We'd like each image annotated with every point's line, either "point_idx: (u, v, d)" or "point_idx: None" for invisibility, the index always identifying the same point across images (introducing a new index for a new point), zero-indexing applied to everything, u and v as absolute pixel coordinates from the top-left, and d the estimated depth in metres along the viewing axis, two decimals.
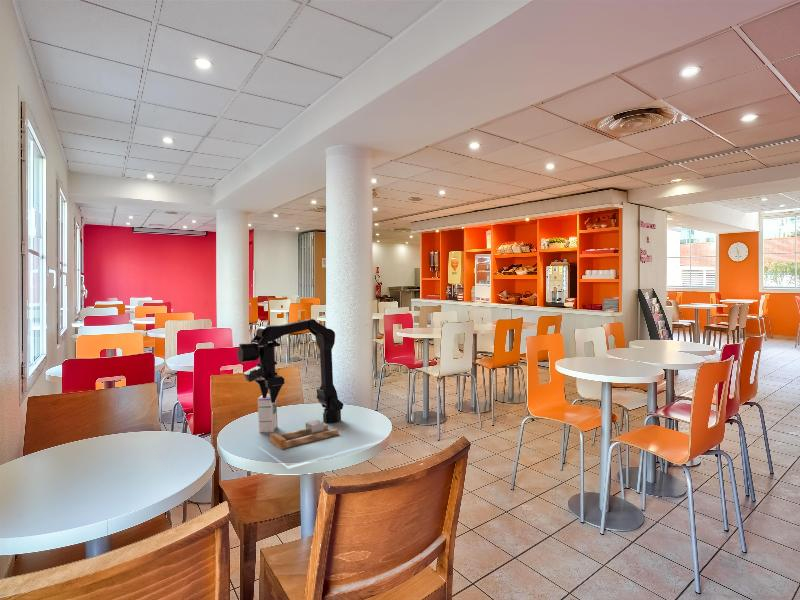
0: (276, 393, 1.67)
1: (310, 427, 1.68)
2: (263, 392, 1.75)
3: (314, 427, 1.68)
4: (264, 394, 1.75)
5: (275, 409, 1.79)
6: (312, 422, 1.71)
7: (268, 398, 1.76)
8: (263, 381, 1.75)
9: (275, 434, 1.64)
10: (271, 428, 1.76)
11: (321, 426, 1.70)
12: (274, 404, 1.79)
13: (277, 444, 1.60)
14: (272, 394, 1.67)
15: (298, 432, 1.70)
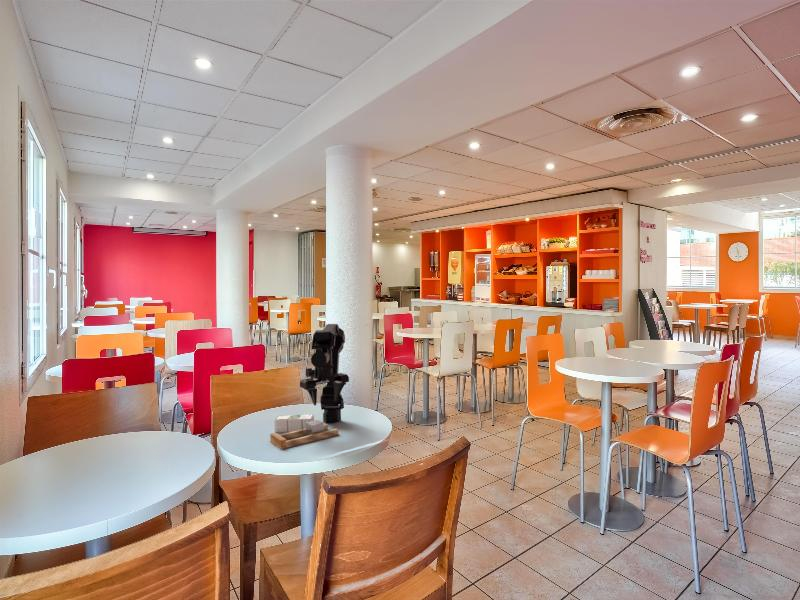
0: (313, 397, 1.70)
1: (310, 427, 1.68)
2: (334, 395, 1.78)
3: (314, 427, 1.68)
4: (335, 397, 1.78)
5: None
6: (312, 422, 1.71)
7: None
8: (336, 384, 1.78)
9: (275, 434, 1.64)
10: None
11: (321, 426, 1.70)
12: None
13: (277, 444, 1.60)
14: (311, 396, 1.71)
15: (298, 432, 1.70)
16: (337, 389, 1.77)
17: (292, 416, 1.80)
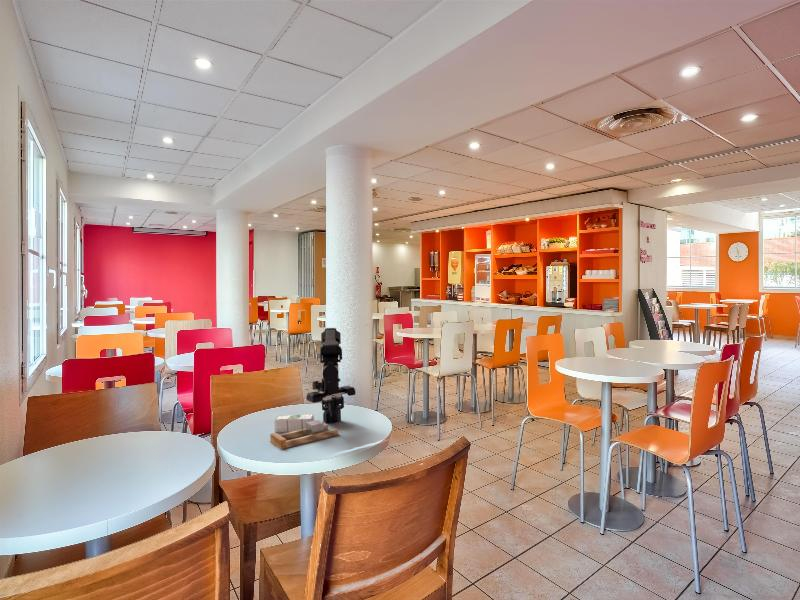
0: (329, 408, 1.74)
1: (310, 427, 1.68)
2: None
3: (314, 427, 1.68)
4: None
5: None
6: (312, 422, 1.71)
7: None
8: (333, 399, 1.76)
9: (275, 434, 1.64)
10: None
11: (321, 426, 1.70)
12: None
13: (277, 444, 1.60)
14: (328, 407, 1.75)
15: (298, 432, 1.70)
16: (334, 404, 1.75)
17: (292, 416, 1.80)
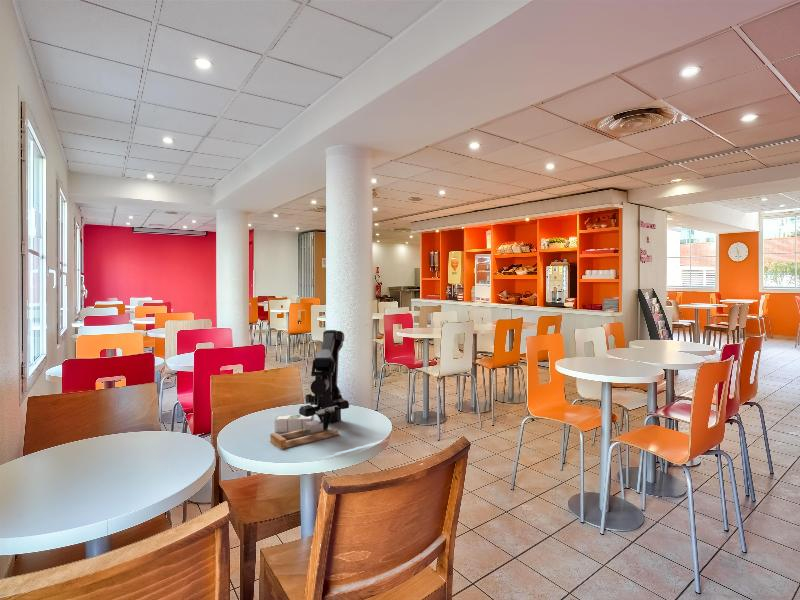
0: (323, 422, 1.72)
1: (309, 427, 1.68)
2: None
3: (313, 427, 1.68)
4: None
5: None
6: (311, 422, 1.71)
7: None
8: (326, 412, 1.74)
9: (275, 434, 1.64)
10: None
11: (320, 426, 1.70)
12: None
13: (277, 444, 1.60)
14: (321, 421, 1.73)
15: (298, 432, 1.70)
16: (327, 418, 1.73)
17: (292, 416, 1.80)
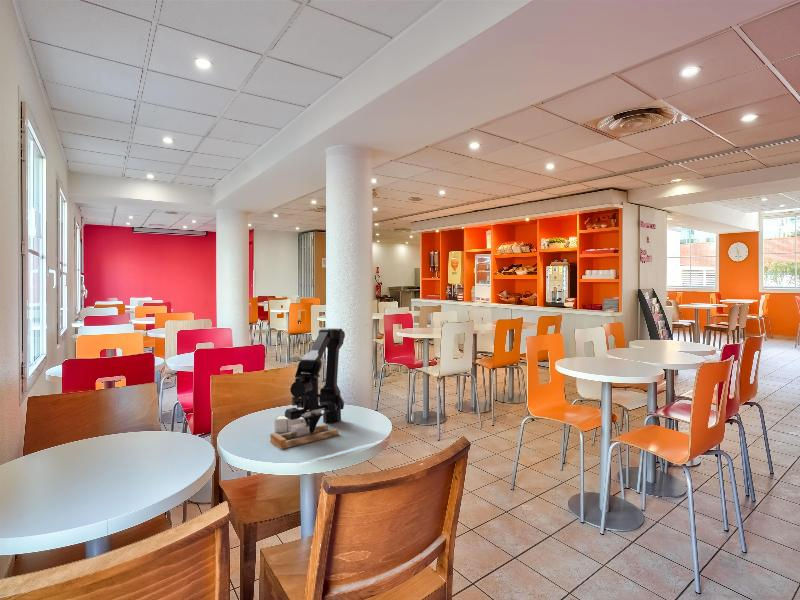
0: (309, 425, 1.68)
1: (295, 430, 1.64)
2: None
3: (299, 430, 1.64)
4: None
5: None
6: (297, 425, 1.67)
7: None
8: (312, 415, 1.70)
9: (275, 434, 1.64)
10: None
11: (306, 429, 1.66)
12: None
13: (277, 444, 1.60)
14: (307, 424, 1.69)
15: None
16: (313, 420, 1.69)
17: None
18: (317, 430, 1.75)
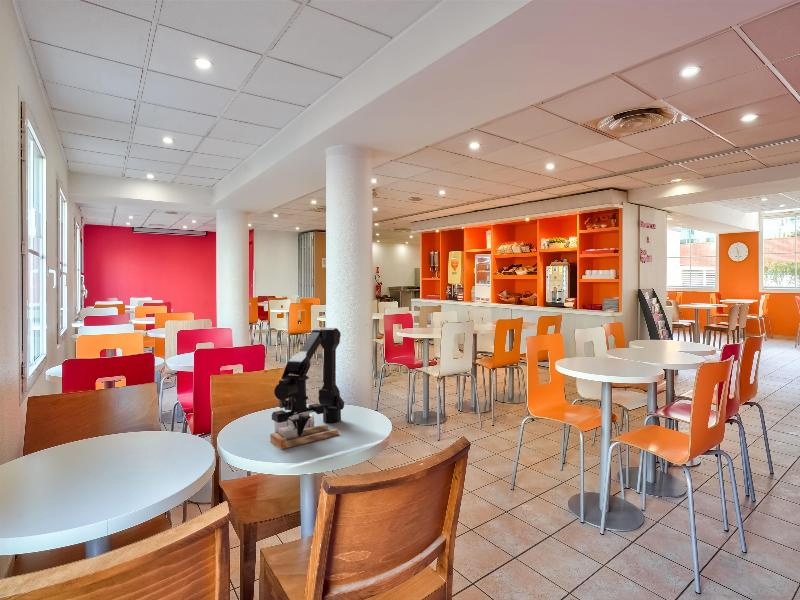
0: (297, 427, 1.65)
1: (282, 433, 1.61)
2: None
3: (286, 433, 1.61)
4: None
5: None
6: (285, 428, 1.64)
7: None
8: (300, 418, 1.67)
9: (275, 434, 1.64)
10: None
11: (294, 432, 1.63)
12: None
13: (277, 444, 1.60)
14: (295, 427, 1.66)
15: None
16: (301, 423, 1.66)
17: None
18: (317, 430, 1.75)
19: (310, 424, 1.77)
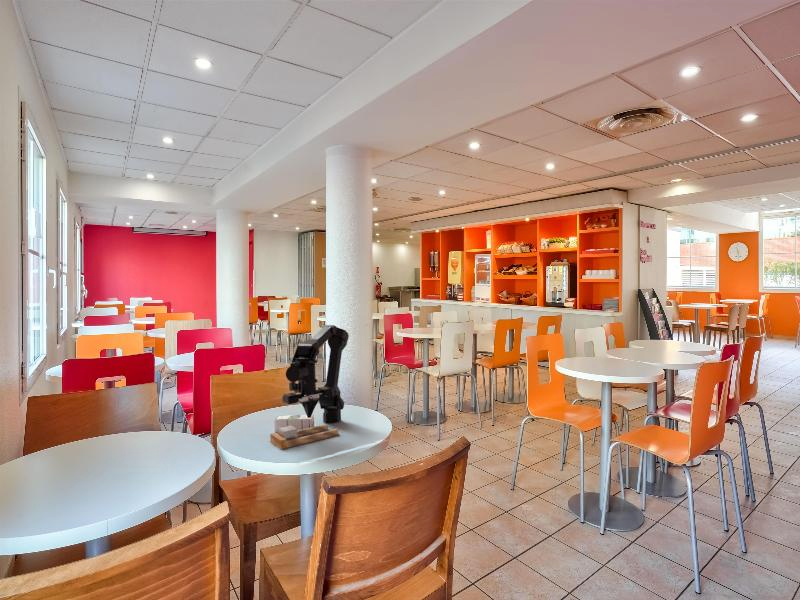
0: (306, 409, 1.70)
1: (282, 433, 1.61)
2: None
3: (287, 433, 1.61)
4: None
5: None
6: (285, 428, 1.64)
7: None
8: (310, 400, 1.72)
9: (275, 434, 1.64)
10: None
11: (294, 432, 1.63)
12: None
13: (277, 444, 1.60)
14: (304, 409, 1.71)
15: (298, 432, 1.70)
16: (311, 405, 1.71)
17: (292, 416, 1.80)
18: (317, 430, 1.75)
19: (310, 424, 1.77)
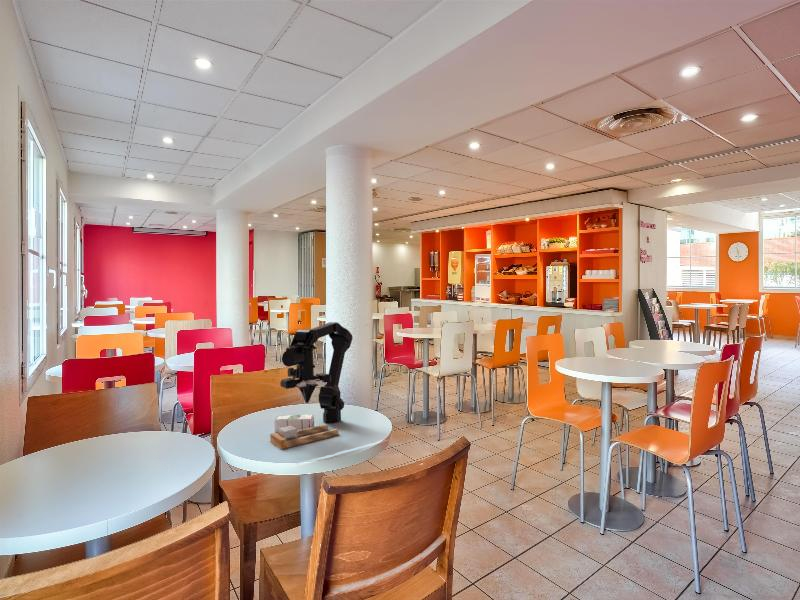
0: (304, 395, 1.72)
1: (282, 433, 1.61)
2: None
3: (287, 433, 1.61)
4: None
5: None
6: (285, 428, 1.64)
7: None
8: (307, 386, 1.74)
9: (275, 434, 1.64)
10: None
11: (294, 432, 1.63)
12: None
13: (277, 444, 1.60)
14: (302, 394, 1.74)
15: (298, 432, 1.70)
16: (308, 391, 1.73)
17: (292, 416, 1.80)
18: (317, 430, 1.75)
19: (310, 424, 1.77)
